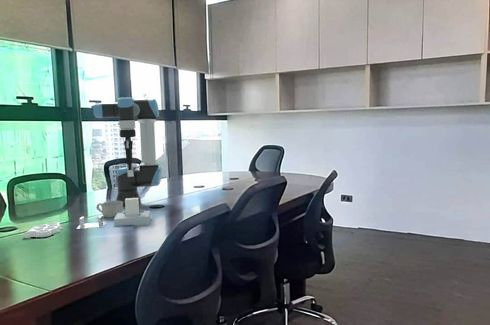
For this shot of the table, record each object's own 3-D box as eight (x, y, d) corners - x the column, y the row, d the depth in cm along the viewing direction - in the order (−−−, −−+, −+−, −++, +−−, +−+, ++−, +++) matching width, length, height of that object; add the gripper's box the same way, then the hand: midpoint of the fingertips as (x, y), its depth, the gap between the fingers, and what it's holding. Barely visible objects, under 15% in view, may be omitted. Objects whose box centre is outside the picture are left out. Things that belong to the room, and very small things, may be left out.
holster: (80, 225, 194) (80, 215, 193) (106, 223, 196) (105, 213, 195) (76, 230, 184) (75, 220, 183) (103, 228, 186) (102, 218, 186)
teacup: (127, 215, 212) (126, 200, 212) (114, 220, 202) (113, 204, 201) (106, 214, 217) (105, 200, 216) (92, 219, 207) (91, 204, 206)
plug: (127, 222, 197) (125, 198, 196) (139, 221, 198) (138, 197, 197) (126, 224, 193) (124, 199, 192) (139, 223, 194) (137, 199, 193)
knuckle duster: (35, 230, 188) (67, 228, 190) (20, 241, 170) (56, 238, 173) (34, 223, 188) (67, 221, 190) (19, 233, 170) (56, 231, 172)
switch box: (118, 220, 201) (117, 212, 200) (150, 218, 204) (149, 210, 203) (114, 227, 187) (113, 218, 187) (149, 224, 190) (148, 215, 190)
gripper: (120, 129, 201) (124, 174, 204) (118, 129, 189) (121, 178, 191) (136, 128, 203) (139, 174, 206) (134, 129, 190) (137, 177, 193)
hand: (130, 176), depth 199 cm, fingers closed
